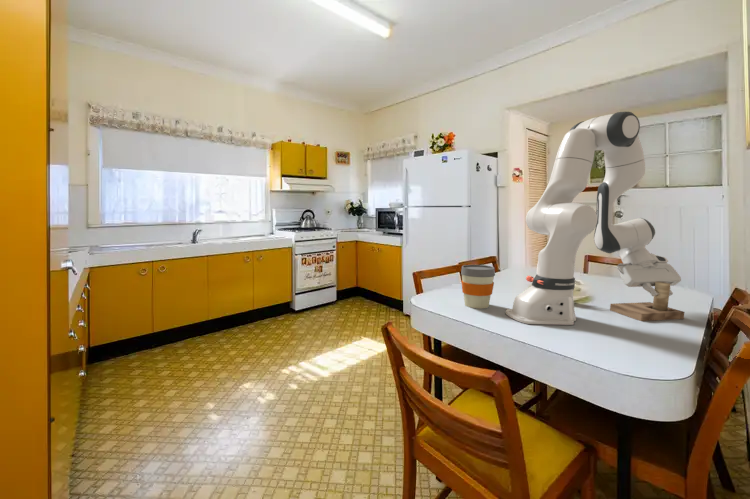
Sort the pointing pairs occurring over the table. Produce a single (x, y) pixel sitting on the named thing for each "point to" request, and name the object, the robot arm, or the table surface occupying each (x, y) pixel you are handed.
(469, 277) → the reusable coffee cup
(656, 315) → the pin board
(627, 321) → the table surface
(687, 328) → the table surface
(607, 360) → the table surface
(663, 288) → the pin
